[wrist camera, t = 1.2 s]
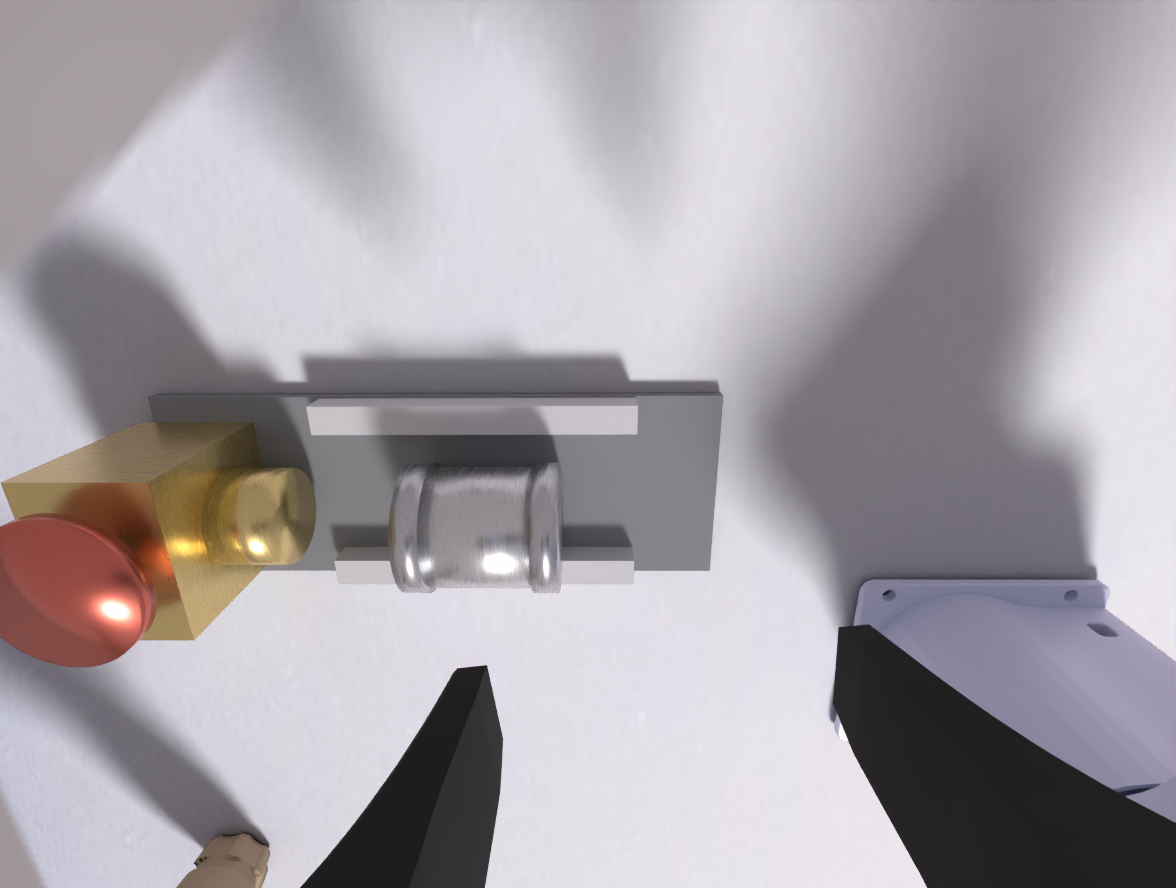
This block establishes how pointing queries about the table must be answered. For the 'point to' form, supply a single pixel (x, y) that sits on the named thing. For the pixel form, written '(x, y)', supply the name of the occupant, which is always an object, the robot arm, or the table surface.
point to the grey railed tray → (494, 439)
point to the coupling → (477, 527)
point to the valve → (143, 538)
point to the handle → (229, 864)
